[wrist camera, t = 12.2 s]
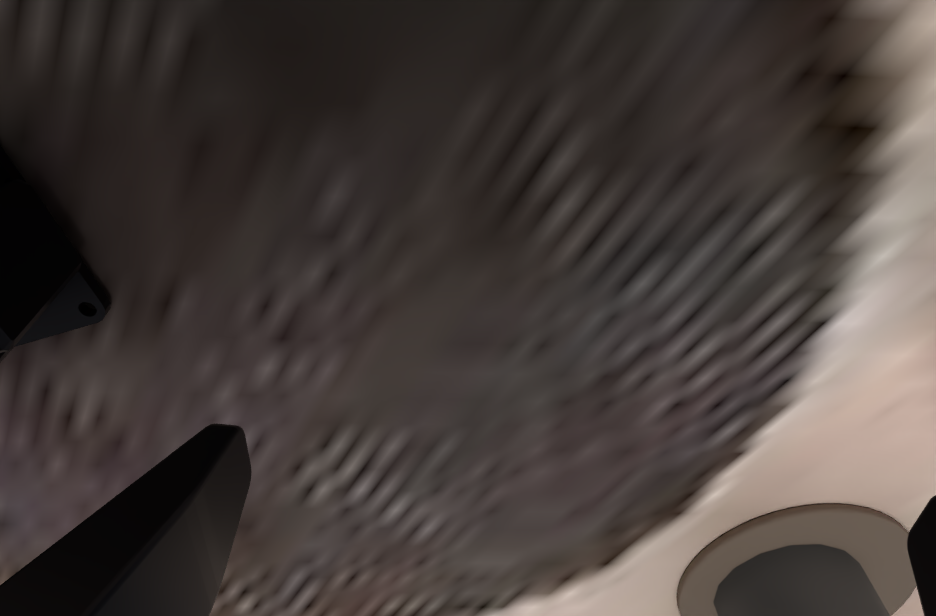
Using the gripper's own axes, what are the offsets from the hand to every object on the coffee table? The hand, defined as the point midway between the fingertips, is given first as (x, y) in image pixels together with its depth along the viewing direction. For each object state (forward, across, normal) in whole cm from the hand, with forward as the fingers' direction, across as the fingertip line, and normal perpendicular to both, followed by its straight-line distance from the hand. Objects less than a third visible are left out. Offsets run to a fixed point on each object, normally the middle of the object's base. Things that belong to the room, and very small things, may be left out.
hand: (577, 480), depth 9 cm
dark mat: (+13, -12, +19) cm, 26 cm away
